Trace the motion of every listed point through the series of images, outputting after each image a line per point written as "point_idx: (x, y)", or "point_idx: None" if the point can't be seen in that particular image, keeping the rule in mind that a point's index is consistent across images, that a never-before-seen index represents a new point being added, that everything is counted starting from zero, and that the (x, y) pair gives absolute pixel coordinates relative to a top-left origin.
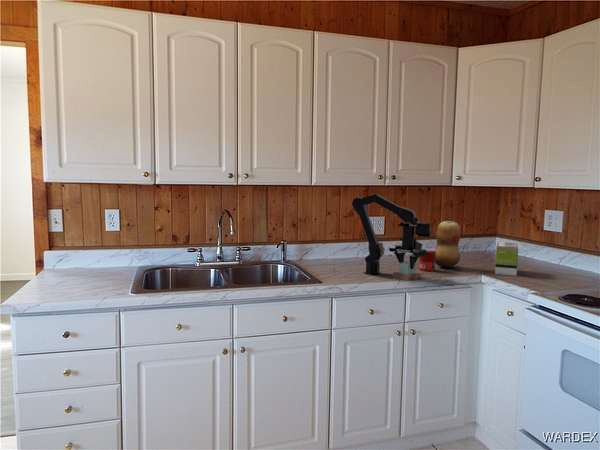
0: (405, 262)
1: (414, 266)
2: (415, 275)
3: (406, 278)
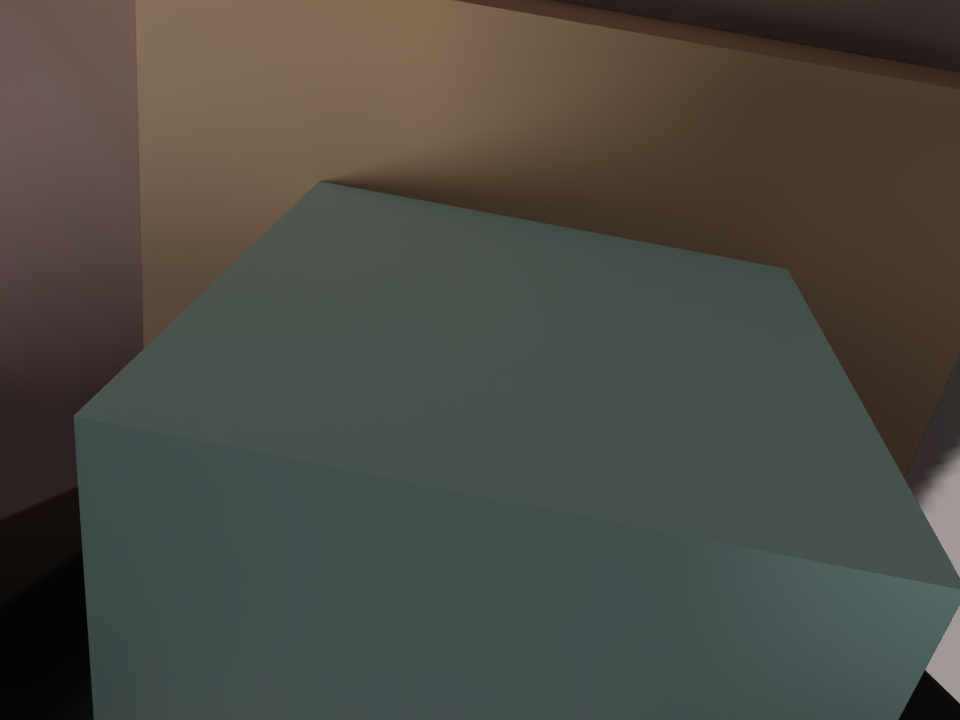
0: (239, 703)
1: (879, 469)
2: (911, 432)
3: None
